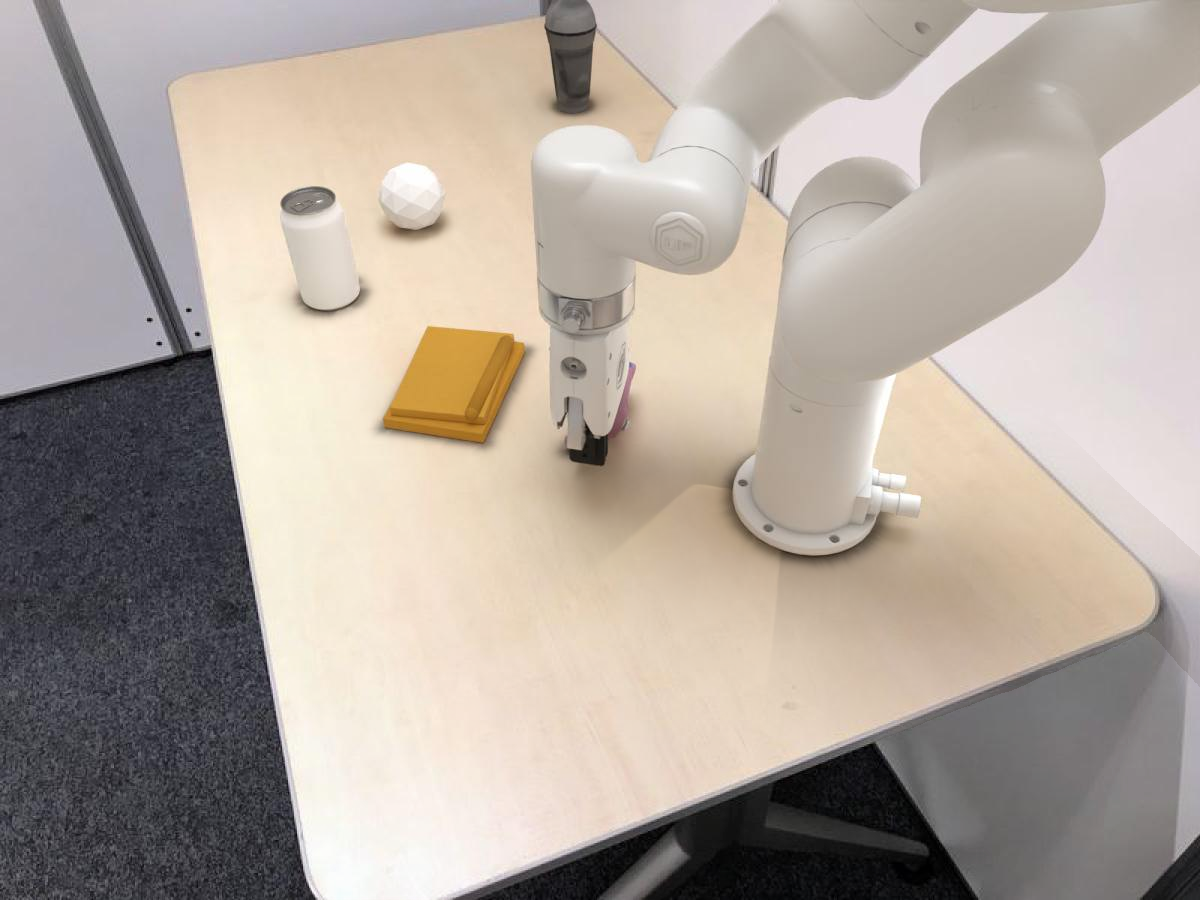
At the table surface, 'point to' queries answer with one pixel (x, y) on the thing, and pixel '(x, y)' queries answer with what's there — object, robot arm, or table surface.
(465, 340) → the rag
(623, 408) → the video game controller
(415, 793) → the table surface
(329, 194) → the can
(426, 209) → the ball
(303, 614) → the table surface
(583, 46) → the beverage cup
